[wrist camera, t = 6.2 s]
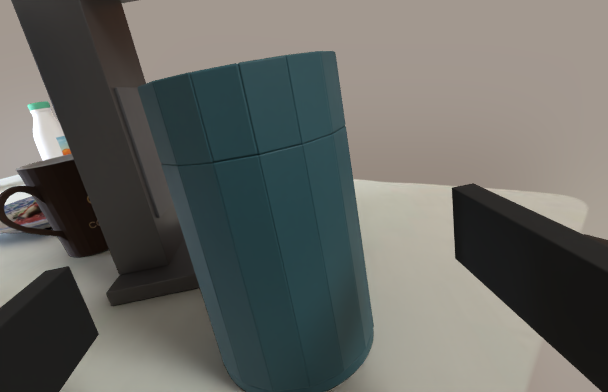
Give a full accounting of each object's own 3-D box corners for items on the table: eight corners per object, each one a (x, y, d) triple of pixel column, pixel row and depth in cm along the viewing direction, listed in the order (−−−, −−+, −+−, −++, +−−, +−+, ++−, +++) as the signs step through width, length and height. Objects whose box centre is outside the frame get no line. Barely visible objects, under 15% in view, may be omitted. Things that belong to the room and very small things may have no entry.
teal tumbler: (192, 379, 18) (91, 95, 13) (270, 286, 24) (221, 79, 20) (347, 421, 14) (277, 50, 10) (387, 298, 21) (357, 50, 17)
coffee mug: (124, 222, 45) (96, 147, 42) (153, 233, 39) (123, 146, 36) (16, 265, 37) (-28, 177, 34) (32, 286, 32) (-19, 182, 28)
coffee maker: (360, 253, 27) (272, -365, 16) (111, 306, 26) (-145, -310, 16) (330, 201, 39) (269, -171, 29) (161, 235, 38) (37, -134, 28)
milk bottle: (61, 180, 91) (29, 102, 85) (45, 181, 95) (13, 106, 88) (89, 171, 97) (61, 98, 91) (73, 173, 101) (45, 102, 95)
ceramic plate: (182, 181, 63) (177, 165, 62) (36, 251, 41) (25, 228, 40) (87, 188, 73) (81, 175, 72) (-72, 247, 51) (-82, 229, 50)
